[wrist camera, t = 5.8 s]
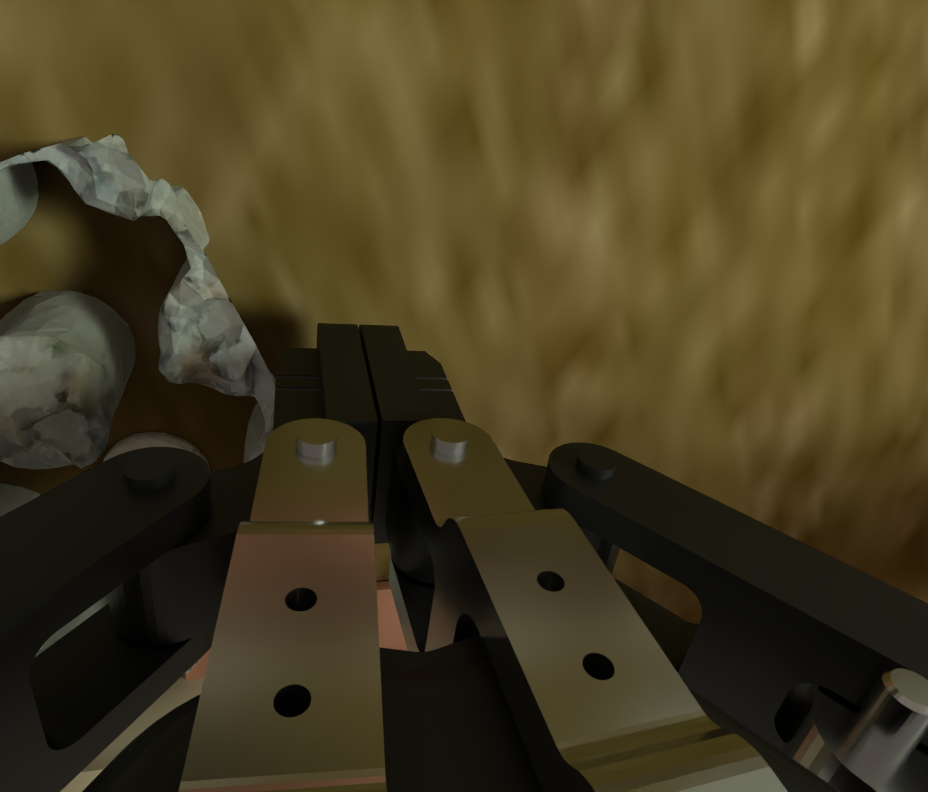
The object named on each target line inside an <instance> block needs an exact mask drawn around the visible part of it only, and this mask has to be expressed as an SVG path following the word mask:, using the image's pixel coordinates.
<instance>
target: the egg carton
mask: <svg viewBox="0 0 928 792" xmlns="http://www.w3.org/2000/svg"><path fill="white" fill-rule="evenodd" d="M36 161H47V162H49V163H50V164H52V165H54V166H55V167H57V168H58V169H59V170H60V172H61V173H62V174H63V175H64V176H65V177H66V178H67V179H68V181H69V182H70V183H71V185H72V187H73V188H74V190H75V191H76V193H77V194H78V195H79V196H80V197H81V198H82V200H83V201H84V202H85V203H86V204H88V205H90V206H93V207H95V208H98V209H100V210H103V211H105V212H108V213H111V214H114V215H117V216H120V217H123V218H126V219H129V220H132V221H135V220H136V219H138V218H139V217H141V216H161V217H162V218H164V219H166V220H167V221H168V223H169V225H170V226H171V228H172V229H173V231H174V232H175V233H176V235H177V236H178V237H179V239H180V240H181V242H182V243H183V244H184V247H185V251H186V254H187V257H188V258H187V259H186V261H185V262H184V264H183V265H182V267H181V269H180V271H179V273H178V275H177V277H176V279H175V281H174V283H173V285H172V287H171V289H170V291H169V293H168V294H167V296H166V298H165V300H164V302H163V304H162V306H161V308H160V312H159V320H158V340H159V347H160V357H159V370H160V372H161V373H162V374H163V375H164V377H165V378H166V379H167V380H168V381H169V382H170V383H172V384H183V383H197V384H202V385H206V386H208V387H210V388H213V389H215V390H217V391H219V392H221V393H224V394H227V395H233V396H253V397H255V398H256V400H257V403H256V405H255V407H254V409H253V411H252V414H251V417H250V420H249V423H248V428H247V434H246V440H245V449H244V463H246V462H248V461H250V460H252V459H254V458H256V457H257V456H259V455H260V454H262V453H263V452H264V448H265V443H266V440H267V438H268V436H269V435H270V433H271V432H273V423H274V401H275V377H274V376H273V374H272V373H271V372H270V370H269V369H268V368H267V366H266V364H265V362H264V360H263V358H262V356H261V354H260V352H259V350H258V348H257V346H256V344H255V343H254V341H253V339H252V337H251V336H250V334H249V332H248V330H247V328H246V327H245V325H244V323H243V321H242V319H241V318H240V316H239V314H238V312H237V311H236V309H235V307H234V305H233V303H232V302H231V300H230V298H229V296H228V294H227V293H226V291H225V289H224V287H223V286H222V284H221V282H220V280H219V278H218V276H217V274H216V272H215V270H214V269H213V267H212V265H211V263H210V261H209V259H208V257H207V255H206V254H205V253H204V248H205V247H206V246H207V244H208V243H209V240H210V239H209V235H208V232H207V230H206V227H205V223H204V220H203V216H202V214H201V212H200V210H199V208H198V206H197V205H196V203H195V202H194V201H193V199H192V198H191V196H190V195H189V194H188V192H187V191H186V190H185V189H184V188H183V187H182V186H170V184H168V183H167V182H166V181H165V180H164V179H163V178H162V179H159V180H155V181H151V180H149V179H148V178H147V176H146V175H145V174H144V172H143V171H142V170H141V168H140V167H139V166H138V165H137V163H136V162H135V161H134V160H133V158H132V157H131V156H130V155H129V153H128V151H127V148H126V145H125V142H124V140H123V139H122V138H121V137H119V136H118V135H116V134H111V135H109V136H107V137H105V138H103V139H101V140H99V141H97V142H94V143H92V142H91V141H90V140H88V139H87V138H86V137H81V138H76V139H71V140H67V141H63V142H60V143H57V144H55V145H52V146H47V147H43V148H39V149H36V150H33V151H30V152H26V153H22V154H20V155H17V156H15V157H12V158H10V159H7V160H5V161H2V162H0V245H2V244H3V243H5V242H6V241H8V240H9V239H10V238H12V237H13V236H14V235H15V234H17V233H18V232H19V231H20V230H21V229H22V228H24V226H25V225H26V224H27V222H28V221H29V219H30V218H31V217H32V216H33V214H34V212H35V210H36V207H37V202H38V196H39V191H38V180H37V176H36V172H35V169H34V166H33V163H32V162H36ZM135 357H136V348H135V339H134V337H133V334H132V332H131V330H130V328H129V325H128V324H127V323H126V322H125V321H124V320H123V319H122V317H121V316H120V315H119V314H118V313H117V312H116V311H115V310H114V309H113V308H112V307H110V306H108V305H107V304H105V303H104V302H102V301H101V300H99V299H98V298H95V297H92V296H90V295H86V294H84V293H81V292H76V291H70V290H66V291H47V290H46V291H40V292H38V293H37V294H35V295H34V296H31V297H28V298H26V299H24V300H23V301H22V302H21V303H19V304H18V305H17V306H16V307H15V308H13V309H12V310H11V311H10V312H9V313H7V314H6V315H5V316H4V317H3V318H2V319H1V320H0V462H1V461H2V462H4V463H6V464H8V465H10V466H13V467H17V468H25V469H51V468H58V467H64V466H69V465H75V466H77V467H79V468H80V469H81V468H84V467H86V466H88V465H90V464H92V463H94V462H95V461H96V460H97V458H98V457H99V456H100V455H101V454H102V452H103V451H104V450H105V449H106V447H107V446H108V441H109V436H110V429H111V421H112V419H113V416H114V414H115V411H116V409H117V406H118V404H119V402H120V399H121V397H122V395H123V392H124V390H125V387H126V384H127V382H128V379H129V376H130V374H131V372H132V370H133V367H134V364H135ZM147 447H173V448H179V449H184V450H187V451H190V452H193V453H195V454H197V455H198V456H200V457H201V458H202V459H203V460H204V461H205V462H206V463H207V465H208V467H209V471H210V472H211V470H210V466H209V462H208V460H207V459H206V457H205V456H204V455H203V454H201V453H200V450H199V449H197V448H196V447H195V445H193V444H192V443H190V442H188V441H186V440H184V439H182V438H180V437H176V436H173V435H170V434H167V433H165V432H144V433H136V434H132V435H130V436H128V437H126V438H124V439H122V440H120V441H119V442H117V443H116V444H115V445H114V446H113V447H112V448H111V449H110V450H109V451H108V452H107V454H106V455H105V457H104V460H103V462H104V461H106V460H108V459H110V458H112V457H114V456H117V455H119V454H122V453H125V452H128V451H132V450H136V449H141V448H147ZM38 496H40V494H39V493H37V492H35V491H32V490H29V489H26V488H24V487H19V486H13V485H10V484H2V483H0V517H1V516H3V515H4V514H6V513H8V512H10V511H12V510H14V509H16V508H18V507H20V506H21V505H23V504H25V503H27V502H29V501H31V500H33V499H35V498H37V497H38ZM108 603H109V600H108V595H106V596H105V597H104V598H102V599H101V600H99V601H98V602H97V603H95V604H94V605H93V606H91V607H90V608H88V609H87V610H86V611H84V612H83V613H82V614H80V615H79V616H77V617H76V618H75V619H73V620H72V621H71V622H69V623H68V624H66V625H65V626H64V627H62V628H61V629H60V630H58V631H57V632H56V633H54V634H53V635H52V636H51V637H50V638H49V639H48V640H47V641H46V642H45V643H44V644H43V646H42V647H41V648H40V650H39V651H38V653H37V654H36V656H37V655H39V654H40V653H41V652H43V651H44V650H46V649H47V648H48V647H50V646H51V645H52V644H54V643H55V642H56V641H58V640H59V639H60V638H62V637H63V636H64V635H66V634H67V633H69V632H70V631H71V630H73V629H74V628H75V627H77V626H78V625H79V624H81V623H82V622H83V621H85V620H86V619H87V618H89V617H90V616H91V615H93V614H94V613H96V612H97V611H98V610H100V609H101V608H102V607H104V606H105V605H106V604H108ZM36 656H35V657H36ZM198 661H199V660H198ZM198 661H197V662H198ZM197 662H196V663H195V664H194V665H193V666H192V667H191V668H190V669H189V670H188V671H187V672H186V673H185V674H188V673H189V672H190V671H191V669H192V668H193V667H194V666H195V665H196V664H197ZM185 674H184V675H185Z"/></svg>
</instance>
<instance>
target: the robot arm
mask: <svg viewBox="0 0 928 792" xmlns="http://www.w3.org/2000/svg"><path fill="white" fill-rule="evenodd" d="M446 378H447V377H446V375H445V373H444V370H443V368H442V366H441V364H440V363H439V362H438V361H437V360H435V359H434V358H433V357H431V356H430V355H429V354H428V353H426V352H425V351H407V350H406V347H405V344H404V341H403V338H402V335H401V332H400V330H399V327H398V326H384V325H359V329H358V326H357V325H353V324H325V323H318V327H317V349H313V348H288V349H287V350H286V351H285V352H284V353H283V354H282V355H281V356H280V357H279V358H278V359H277V360H276V379H275V401H274V423H273V432H271V433H270V435H269V436H268V438H267V440H266V443H265V448H264V452H263V453H262V454H260V455H259V456H257V457H256V458H254V459H252V460H250V461H248V462H246V463H243V464H240V465H238V466H234V467H230V468H226V469H221V470H217V471H212V472H210V471H209V467H208V465H207V463H206V462H205V461H204V460H203V459H202V458H201V457H200V456H198V455H197V454H195V453H193V452H190V451H187V450H184V449H179V448H173V447H147V448H141V449H136V450H132V451H128V452H125V453H122V454H119V455H117V456H114V457H112V458H110V459H108V460H106V461H104V462H103V463H101V464H99V465H97V466H95V467H93V468H91V469H89V470H87V471H86V472H84V473H82V474H80V475H78V476H76V477H74V478H72V479H70V480H69V481H67V482H65V483H63V484H61V485H59V486H57V487H55V488H53V489H52V490H50V491H48V492H46V493H44V494H42V495H40V496H38V497H37V498H35V499H33V500H31V501H29V502H27V503H25V504H23V505H21V506H20V507H18V508H16V509H14V510H12V511H10V512H8V513H6V514H4V515H3V516H1V517H0V792H60V791H61V790H62V789H64V788H65V787H66V786H67V785H68V784H69V783H70V782H71V781H72V780H73V779H74V778H75V777H76V776H77V775H78V774H79V773H80V772H81V771H82V770H84V769H85V768H86V767H87V766H88V765H89V764H90V763H91V762H92V761H93V760H94V759H95V758H96V757H97V756H98V755H99V754H100V753H101V752H102V751H104V750H105V749H106V748H107V747H108V746H109V745H110V744H111V743H112V742H113V741H114V740H115V739H116V738H117V737H118V736H119V735H120V734H121V733H122V732H124V731H125V730H126V729H127V728H128V727H129V726H130V725H131V724H132V723H133V722H134V721H135V720H136V719H137V718H138V717H139V716H140V715H141V714H143V713H144V712H145V711H146V710H147V709H148V708H149V707H150V706H151V705H152V704H153V703H154V702H155V701H156V700H157V699H158V698H159V697H160V696H161V695H163V694H164V693H165V692H166V691H167V690H168V689H169V688H170V687H171V686H172V685H173V684H174V683H175V682H176V681H177V680H178V679H179V678H180V677H181V676H183V675H184V674H185V673H186V672H187V671H188V670H189V669H190V668H191V667H192V666H193V665H194V664H195V663H196V662H197V661H198V660H199V659H200V658H201V657H203V656H204V655H205V654H206V653H207V651H208V650H209V649H210V648H211V650H210V654H209V659H208V663H207V668H206V672H205V677H204V681H203V685H202V690H201V694H200V695H197V696H196V697H194V698H192V699H190V700H188V701H187V702H185V703H183V704H181V705H179V706H178V707H176V708H174V709H173V710H172V711H170V712H169V713H167V714H166V715H164V716H163V717H161V718H160V719H158V720H157V721H156V722H154V723H153V724H152V725H150V726H149V727H148V728H147V729H146V730H144V731H143V732H142V733H141V734H140V735H138V736H137V737H136V738H135V739H134V740H132V741H131V742H130V743H129V744H128V745H127V746H126V747H125V748H124V749H123V750H122V751H121V752H120V753H119V754H118V755H117V756H116V757H115V758H114V759H113V760H112V761H111V762H110V763H109V764H108V765H107V766H106V767H105V769H104V770H103V771H102V772H101V773H100V774H99V775H98V776H97V777H96V778H95V779H94V780H93V781H92V782H91V783H90V784H89V785H88V786H87V787H86V788H85V789H84V790H83V791H82V792H928V604H927V603H925V602H923V601H921V600H919V599H917V598H915V597H913V596H911V595H909V594H907V593H905V592H903V591H901V590H899V589H897V588H895V587H893V586H891V585H888V584H886V583H884V582H882V581H880V580H878V579H876V578H874V577H872V576H870V575H868V574H866V573H864V572H862V571H860V570H858V569H856V568H854V567H852V566H849V565H847V564H845V563H843V562H841V561H839V560H837V559H835V558H833V557H831V556H829V555H827V554H825V553H823V552H821V551H819V550H817V549H815V548H813V547H811V546H808V545H806V544H804V543H802V542H800V541H798V540H796V539H794V538H792V537H790V536H788V535H786V534H784V533H782V532H780V531H778V530H776V529H774V528H772V527H770V526H767V525H765V524H763V523H761V522H759V521H757V520H755V519H753V518H751V517H749V516H747V515H745V514H743V513H741V512H739V511H737V510H735V509H733V508H731V507H728V506H726V505H724V504H722V503H720V502H718V501H716V500H714V499H712V498H710V497H708V496H706V495H704V494H702V493H700V492H698V491H696V490H694V489H692V488H690V487H687V486H685V485H683V484H681V483H679V482H677V481H675V480H673V479H671V478H669V477H667V476H665V475H663V474H661V473H659V472H657V471H655V470H653V469H651V468H648V467H646V466H644V465H642V464H640V463H638V462H636V461H634V460H632V459H630V458H628V457H626V456H624V455H622V454H620V453H618V452H616V451H613V450H611V449H609V448H606V447H603V446H599V445H595V444H589V443H569V444H564V445H561V446H559V447H557V448H555V449H554V450H553V451H552V452H551V454H550V456H549V460H548V464H547V467H544V466H539V465H533V464H528V463H522V462H517V461H513V460H509V459H506V458H503V456H502V455H501V453H500V451H499V450H498V448H497V447H496V445H495V443H494V442H493V440H492V439H491V437H490V436H489V435H488V434H487V433H486V432H485V431H483V430H482V429H480V428H479V427H477V426H475V425H472V424H470V423H467V422H466V421H465V419H464V417H463V414H462V412H461V410H460V407H459V405H458V403H457V400H456V398H455V396H454V394H453V392H451V387H450V384H449V382H448V380H446ZM375 543H389V545H390V550H391V557H390V566H389V576H388V579H389V585H390V588H391V592H392V596H393V599H394V603H395V606H396V610H397V614H398V617H399V621H400V625H401V628H402V632H403V635H404V639H405V643H406V646H407V650H408V651H406V650H397V649H389V648H381V647H379V627H378V606H377V585H376V564H375ZM620 548H621V549H623V550H625V551H626V552H628V553H630V554H632V555H633V556H635V557H637V558H639V559H640V560H642V561H644V562H646V563H647V564H649V565H651V566H653V567H654V568H656V569H658V570H660V571H661V572H663V573H665V574H667V575H668V576H670V577H672V578H674V579H675V580H677V581H679V582H681V583H683V584H684V585H686V586H687V587H688V588H690V589H691V590H692V591H693V592H694V593H695V595H696V596H697V597H698V599H699V601H700V603H701V606H702V618H701V621H700V623H699V624H693V623H690V622H687V621H685V620H683V619H682V618H680V617H678V616H677V615H675V614H673V613H672V612H670V611H668V610H667V609H665V608H663V607H662V606H660V605H658V604H657V603H655V602H653V601H652V600H650V599H648V598H647V597H645V596H643V595H642V594H640V593H638V592H637V591H635V590H633V589H632V588H630V587H628V586H627V585H625V584H623V583H622V582H620V581H618V580H617V579H615V578H613V576H612V575H611V574H612V571H613V568H614V565H615V562H616V559H617V556H618V553H619V550H620ZM106 595H108V600H109V603H108V604H106V605H105V606H104V607H102V608H101V609H100V610H98V611H97V612H96V613H94V614H93V615H91V616H90V617H89V618H87V619H86V620H85V621H83V622H82V623H81V624H79V625H78V626H77V627H75V628H74V629H73V630H71V631H70V632H69V633H67V634H66V635H64V636H63V637H62V638H60V639H59V640H58V641H56V642H55V643H54V644H52V645H51V646H50V647H48V648H47V649H46V650H44V651H43V652H41V653H40V654H39V655H37V656H36V654H37V653H38V651H39V650H40V648H41V647H42V646H43V644H44V643H45V642H46V641H47V640H48V639H49V638H50V637H51V636H52V635H53V634H54V633H56V632H57V631H58V630H60V629H61V628H62V627H64V626H65V625H66V624H68V623H69V622H71V621H72V620H73V619H75V618H76V617H77V616H79V615H80V614H82V613H83V612H84V611H86V610H87V609H88V608H90V607H91V606H93V605H94V604H95V603H97V602H98V601H99V600H101V599H102V598H104V597H105V596H106ZM35 656H36V657H35Z"/></svg>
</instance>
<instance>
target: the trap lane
mask: <svg viewBox="0 0 928 792" xmlns="http://www.w3.org/2000/svg"><path fill="white" fill-rule="evenodd" d="M376 585H377V606H378V627H379V647H381V648H389V649H397V650H406V651H408V650H407V646H406V643H405V639H404V635H403V632H402V628H401V625H400V621H399V617H398V614H397V610H396V606H395V603H394V599H393V596H392V592H391V588H390V585H389V581H382V582H376ZM210 650H211V648H210V649H209V650H208V651H207V653H206V654H205V655H204V656H203V657H201V658H200V659H199V661H198V662H197V664H196V665H195V666H194V667H193V668H192V669H191V671H190V672H189V673H188V674H185V675H183V676H181V677H180V678H179V679H178V680H177V681H176V682H175V683H174V684H173V685H172V686H171V687H170V688H169V689H168V690H167V691H166V692H165V693H164V694H163V695H161V696H160V697H159V698H158V699H157V700H156V701H155V702H154V703H153V704H152V705H151V706H150V707H149V708H148V709H147V710H146V711H145V712H144V713H143V714H141V715H140V716H139V717H138V718H137V719H136V720H135V721H134V722H133V723H132V724H131V725H130V726H129V727H128V728H127V729H126V730H125V731H124V732H122V733H121V734H120V735H119V736H118V737H117V738H116V739H115V740H114V741H113V742H112V743H111V744H110V745H109V746H108V747H107V748H106V749H105V750H104V751H102V752H101V753H100V754H99V755H98V756H97V757H96V758H95V759H94V760H93V761H92V762H91V763H90V764H89V765H88V766H87V767H86V768H85V769H84V770H82V771H81V772H80V773H79V774H78V775H77V776H76V777H75V778H74V779H73V780H72V781H71V782H70V783H69V784H68V785H67V786H66V787H65V788H64V789H62V790H61V791H60V792H82V791H83V790H84V789H85V788H86V787H87V786H88V785H89V784H90V783H91V782H92V781H93V780H94V779H95V778H96V777H97V776H98V775H99V774H100V773H101V772H102V771H103V770H104V769H105V767H106V766H107V765H108V764H109V763H110V762H111V761H112V760H113V759H114V758H115V757H116V756H117V755H118V754H119V753H120V752H121V751H122V750H123V749H124V748H125V747H126V746H127V745H128V744H129V743H130V742H131V741H132V740H134V739H135V738H136V737H137V736H138V735H140V734H141V733H142V732H143V731H144V730H146V729H147V728H148V727H149V726H150V725H152V724H153V723H154V722H156V721H157V720H158V719H160V718H161V717H163V716H164V715H166V714H167V713H169V712H170V711H172V710H173V709H174V708H176V707H178V706H179V705H181V704H183V703H185V702H187V701H188V700H190V699H192V698H194V697H196V696H197V695H200V694H201V690H202V685H203V681H204V677H205V672H206V668H207V663H208V659H209V654H210Z"/></svg>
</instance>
